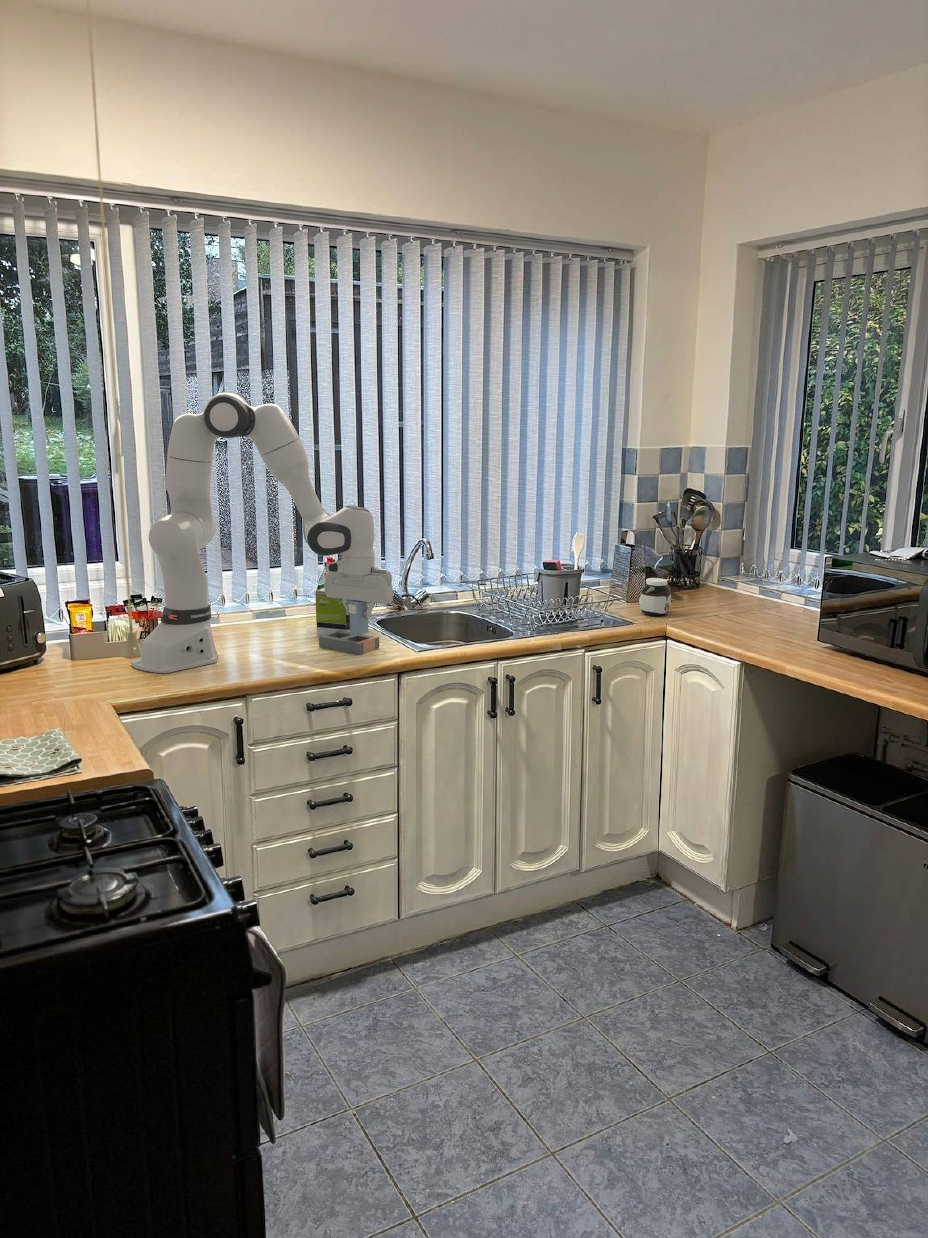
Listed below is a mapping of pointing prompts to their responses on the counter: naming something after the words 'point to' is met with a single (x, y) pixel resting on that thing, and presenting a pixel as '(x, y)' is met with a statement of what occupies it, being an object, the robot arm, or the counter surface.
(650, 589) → the spread jar
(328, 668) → the counter surface
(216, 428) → the robot arm
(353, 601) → the plug peg
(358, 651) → the socket block
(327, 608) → the tea box
